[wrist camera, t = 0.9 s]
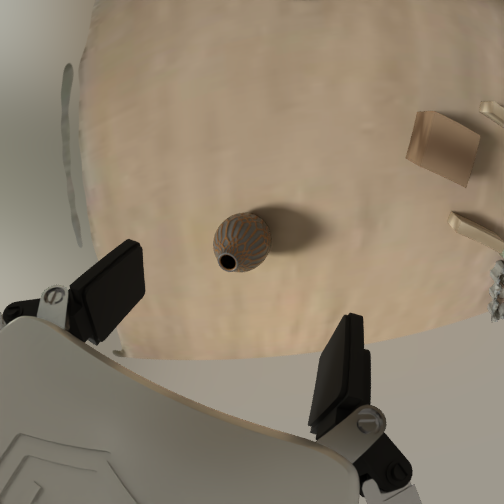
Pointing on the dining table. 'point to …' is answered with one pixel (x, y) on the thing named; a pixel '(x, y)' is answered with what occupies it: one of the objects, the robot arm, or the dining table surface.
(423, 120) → the walnut block
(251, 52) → the dining table surface
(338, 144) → the dining table surface
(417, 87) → the dining table surface
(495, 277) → the grey jagged open ring
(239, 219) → the vase
